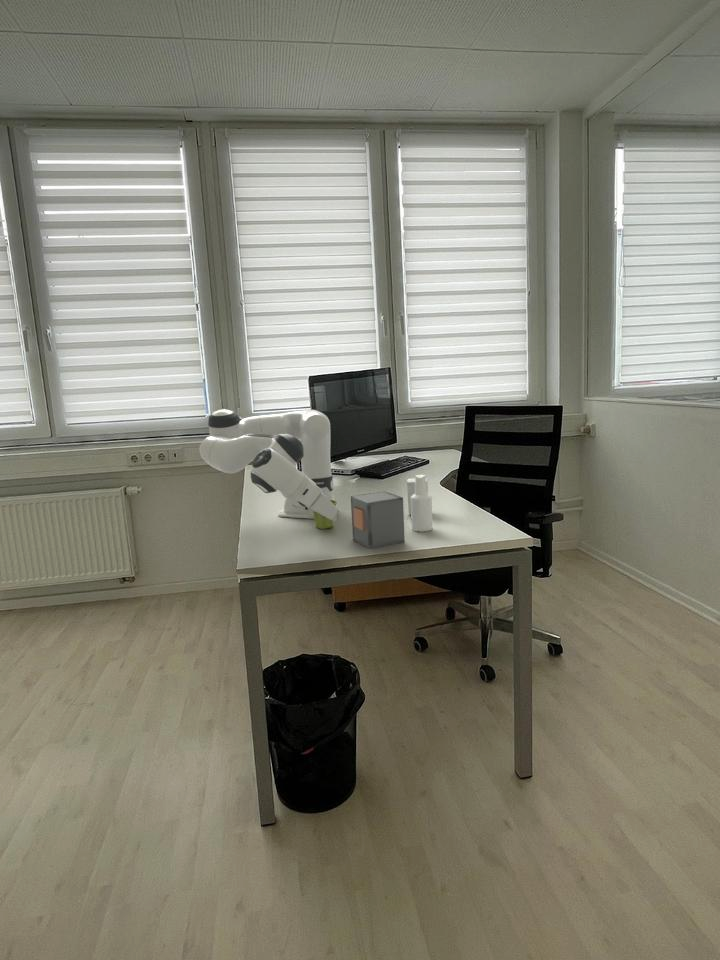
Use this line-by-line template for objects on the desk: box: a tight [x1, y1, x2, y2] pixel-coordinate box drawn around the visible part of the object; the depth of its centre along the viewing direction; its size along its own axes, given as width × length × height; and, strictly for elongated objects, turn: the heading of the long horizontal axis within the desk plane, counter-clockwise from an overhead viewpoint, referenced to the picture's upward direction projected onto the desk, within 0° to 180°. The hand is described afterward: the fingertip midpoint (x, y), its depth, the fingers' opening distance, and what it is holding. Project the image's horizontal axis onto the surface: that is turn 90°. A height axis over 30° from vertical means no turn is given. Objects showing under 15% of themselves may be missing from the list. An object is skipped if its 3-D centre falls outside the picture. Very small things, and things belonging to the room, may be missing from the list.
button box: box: [350, 491, 406, 549], centre depth 184 cm, size 12×12×14 cm
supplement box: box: [406, 477, 429, 516], centre depth 217 cm, size 7×7×13 cm
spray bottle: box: [410, 474, 433, 533], centre depth 195 cm, size 7×7×18 cm
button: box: [354, 507, 365, 530], centre depth 183 cm, size 5×6×6 cm
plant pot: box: [313, 499, 338, 530], centre depth 205 cm, size 9×9×9 cm
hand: (334, 518), depth 178 cm, fingers closed
